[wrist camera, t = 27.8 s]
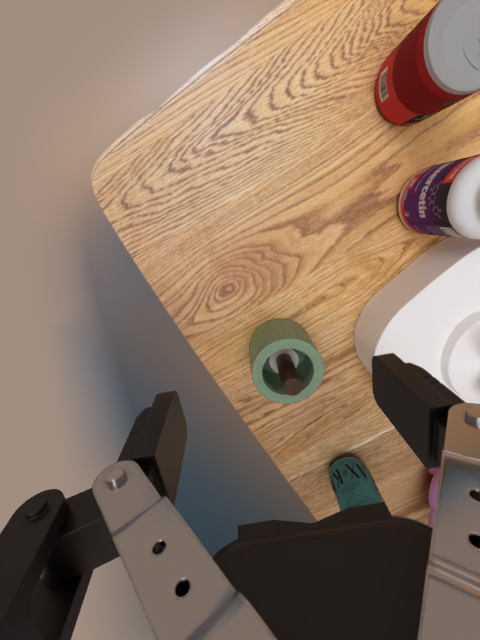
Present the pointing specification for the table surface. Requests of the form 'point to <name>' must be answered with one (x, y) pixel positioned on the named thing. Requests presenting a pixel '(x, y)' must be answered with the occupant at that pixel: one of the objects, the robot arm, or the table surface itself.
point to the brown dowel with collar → (287, 370)
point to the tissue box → (430, 317)
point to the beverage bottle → (353, 483)
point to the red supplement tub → (432, 64)
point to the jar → (277, 338)
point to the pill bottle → (444, 199)
